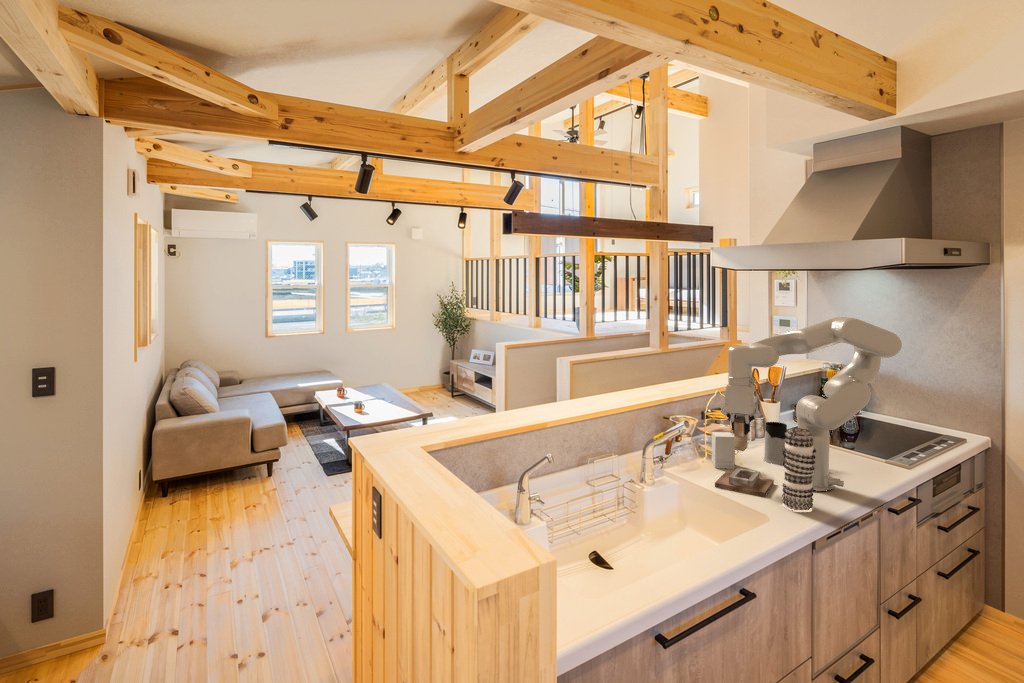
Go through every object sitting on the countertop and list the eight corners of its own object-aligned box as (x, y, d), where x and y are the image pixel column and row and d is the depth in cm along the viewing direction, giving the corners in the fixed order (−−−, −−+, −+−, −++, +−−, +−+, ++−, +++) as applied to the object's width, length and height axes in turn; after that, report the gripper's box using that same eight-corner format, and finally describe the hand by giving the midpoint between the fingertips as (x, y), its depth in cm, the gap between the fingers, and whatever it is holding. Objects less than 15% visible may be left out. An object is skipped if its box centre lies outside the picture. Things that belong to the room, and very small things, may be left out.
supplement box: (735, 469, 194) (735, 437, 193) (714, 468, 196) (715, 436, 195) (730, 462, 201) (731, 431, 200) (711, 462, 203) (711, 431, 202)
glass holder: (762, 456, 208) (762, 420, 207) (801, 459, 203) (802, 423, 202) (764, 463, 200) (765, 426, 199) (805, 466, 195) (806, 428, 194)
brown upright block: (747, 447, 179) (747, 416, 178) (743, 451, 175) (743, 420, 174) (738, 446, 181) (738, 415, 180) (734, 449, 177) (734, 419, 176)
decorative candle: (792, 499, 165) (793, 424, 163) (820, 509, 157) (823, 430, 155) (774, 505, 161) (776, 428, 159) (802, 516, 153) (805, 435, 150)
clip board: (773, 484, 178) (773, 473, 178) (764, 497, 167) (764, 485, 167) (726, 475, 188) (726, 464, 188) (714, 486, 177) (715, 475, 177)
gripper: (768, 381, 173) (768, 433, 175) (719, 378, 184) (720, 427, 185) (763, 385, 168) (763, 439, 169) (712, 381, 178) (713, 432, 179)
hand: (740, 432), depth 177 cm, fingers closed on brown upright block, 3 cm apart
